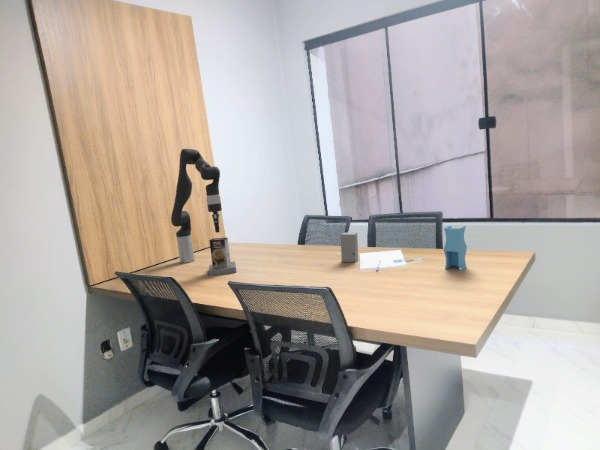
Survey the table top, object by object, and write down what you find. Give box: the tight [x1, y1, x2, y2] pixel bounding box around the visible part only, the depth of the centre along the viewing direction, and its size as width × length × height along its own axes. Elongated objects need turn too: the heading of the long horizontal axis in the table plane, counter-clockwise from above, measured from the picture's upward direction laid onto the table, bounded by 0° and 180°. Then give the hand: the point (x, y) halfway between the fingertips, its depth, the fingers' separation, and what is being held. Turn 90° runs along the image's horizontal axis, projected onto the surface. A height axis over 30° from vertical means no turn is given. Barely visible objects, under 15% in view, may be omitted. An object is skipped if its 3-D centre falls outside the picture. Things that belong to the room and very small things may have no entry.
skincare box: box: [340, 232, 359, 263], centre depth 232 cm, size 8×7×16 cm
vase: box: [443, 224, 468, 272], centre depth 198 cm, size 8×8×20 cm
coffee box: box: [208, 237, 232, 268], centre depth 236 cm, size 9×6×16 cm
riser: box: [208, 260, 237, 277], centre depth 238 cm, size 15×15×3 cm
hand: (217, 231), depth 235 cm, fingers open, 8 cm apart
